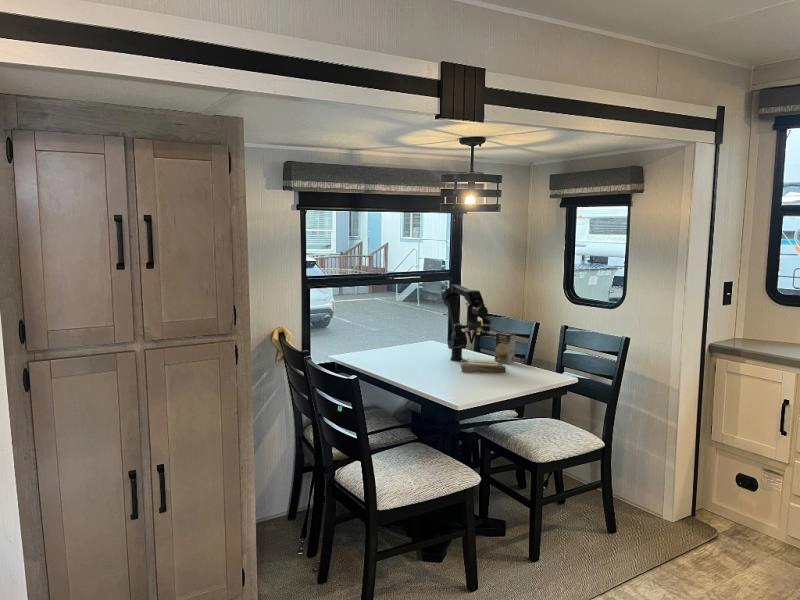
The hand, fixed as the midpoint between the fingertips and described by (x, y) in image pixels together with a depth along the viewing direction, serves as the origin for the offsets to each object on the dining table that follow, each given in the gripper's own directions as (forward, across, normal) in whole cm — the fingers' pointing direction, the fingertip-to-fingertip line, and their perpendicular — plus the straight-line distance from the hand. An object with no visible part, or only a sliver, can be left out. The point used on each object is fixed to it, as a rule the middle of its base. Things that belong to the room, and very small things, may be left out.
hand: (471, 343), depth 315 cm
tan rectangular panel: (+10, +6, -5) cm, 13 cm away
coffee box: (+12, +19, +11) cm, 25 cm away
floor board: (+12, +6, -6) cm, 15 cm away
